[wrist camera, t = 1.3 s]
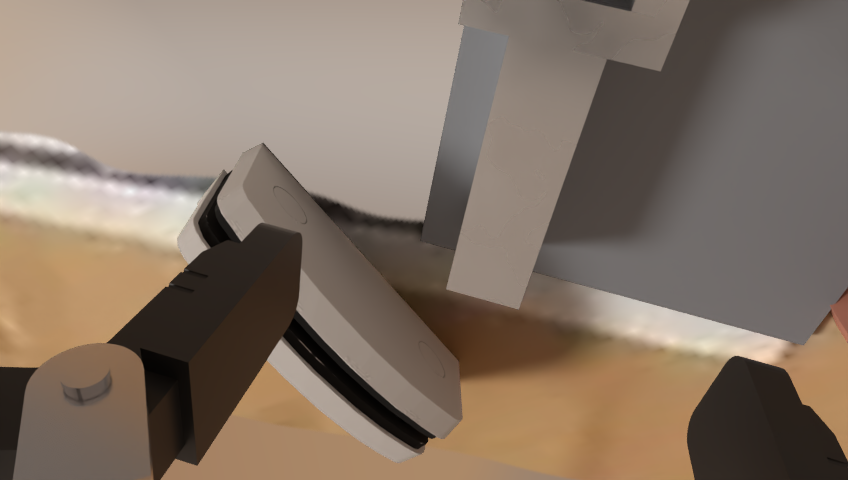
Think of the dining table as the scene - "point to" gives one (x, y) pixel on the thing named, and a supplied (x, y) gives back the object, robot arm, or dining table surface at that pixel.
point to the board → (692, 168)
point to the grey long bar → (542, 122)
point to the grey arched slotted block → (337, 316)
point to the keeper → (841, 314)
